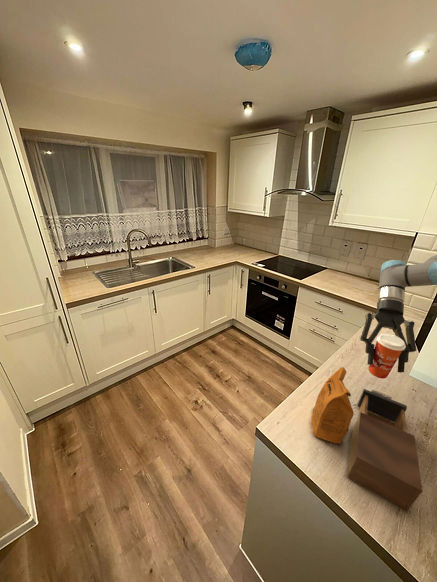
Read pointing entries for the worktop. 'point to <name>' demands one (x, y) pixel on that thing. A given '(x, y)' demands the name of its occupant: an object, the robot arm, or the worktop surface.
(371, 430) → the cabinet
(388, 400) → the drawer
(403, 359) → the robot arm
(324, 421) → the coffee package
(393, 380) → the worktop surface
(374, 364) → the paper cup
